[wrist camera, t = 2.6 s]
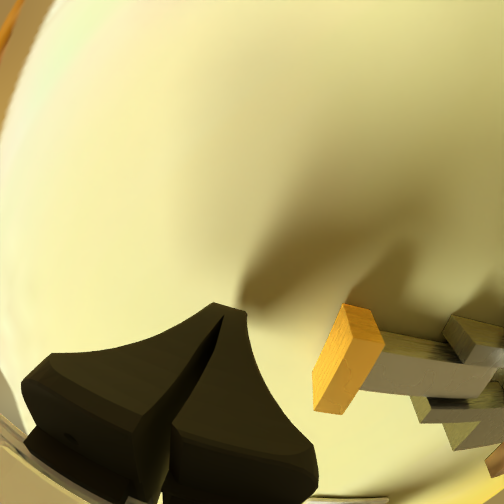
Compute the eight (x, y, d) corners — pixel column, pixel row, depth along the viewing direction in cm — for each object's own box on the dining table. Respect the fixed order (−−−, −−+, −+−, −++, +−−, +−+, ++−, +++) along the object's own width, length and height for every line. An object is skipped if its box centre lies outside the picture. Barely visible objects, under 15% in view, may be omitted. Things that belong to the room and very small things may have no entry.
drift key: (458, 390, 11) (473, 419, 9) (312, 371, 12) (313, 410, 10) (492, 337, 10) (514, 363, 8) (342, 302, 11) (353, 337, 8)
